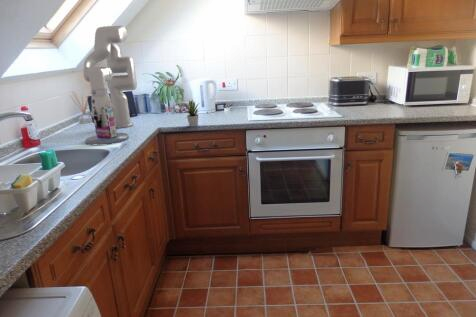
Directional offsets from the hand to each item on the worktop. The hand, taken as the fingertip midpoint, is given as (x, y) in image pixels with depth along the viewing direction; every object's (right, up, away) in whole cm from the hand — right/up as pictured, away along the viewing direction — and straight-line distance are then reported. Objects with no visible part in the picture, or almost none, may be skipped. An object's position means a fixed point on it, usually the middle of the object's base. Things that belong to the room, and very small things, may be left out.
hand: (105, 125), depth 190 cm
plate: (0, -7, +2) cm, 8 cm away
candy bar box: (0, -6, +2) cm, 6 cm away
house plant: (+43, +3, +28) cm, 51 cm away
